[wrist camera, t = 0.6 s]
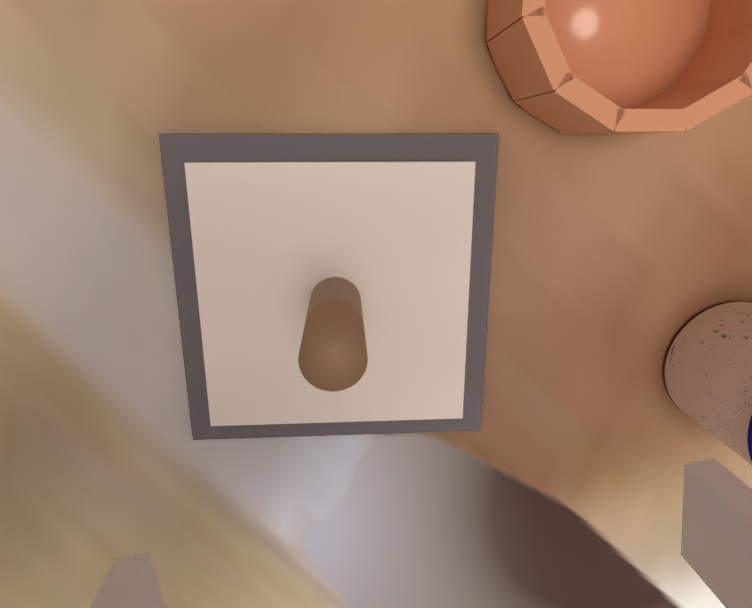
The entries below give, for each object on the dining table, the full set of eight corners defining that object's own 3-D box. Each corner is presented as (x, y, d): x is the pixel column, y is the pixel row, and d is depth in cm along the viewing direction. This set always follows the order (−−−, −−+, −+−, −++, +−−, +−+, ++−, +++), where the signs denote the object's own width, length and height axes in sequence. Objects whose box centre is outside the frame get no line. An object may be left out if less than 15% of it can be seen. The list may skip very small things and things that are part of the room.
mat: (194, 435, 35) (193, 439, 35) (161, 134, 30) (158, 133, 29) (478, 426, 36) (480, 430, 36) (496, 134, 31) (498, 134, 30)
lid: (214, 418, 34) (165, 523, 25) (189, 162, 30) (117, 170, 20) (459, 411, 35) (502, 509, 26) (471, 161, 31) (529, 168, 21)
